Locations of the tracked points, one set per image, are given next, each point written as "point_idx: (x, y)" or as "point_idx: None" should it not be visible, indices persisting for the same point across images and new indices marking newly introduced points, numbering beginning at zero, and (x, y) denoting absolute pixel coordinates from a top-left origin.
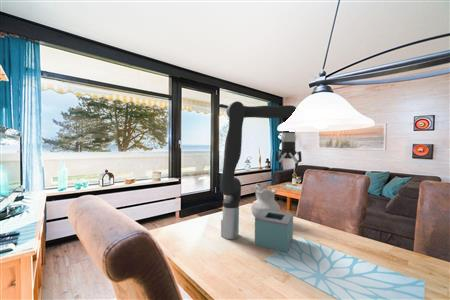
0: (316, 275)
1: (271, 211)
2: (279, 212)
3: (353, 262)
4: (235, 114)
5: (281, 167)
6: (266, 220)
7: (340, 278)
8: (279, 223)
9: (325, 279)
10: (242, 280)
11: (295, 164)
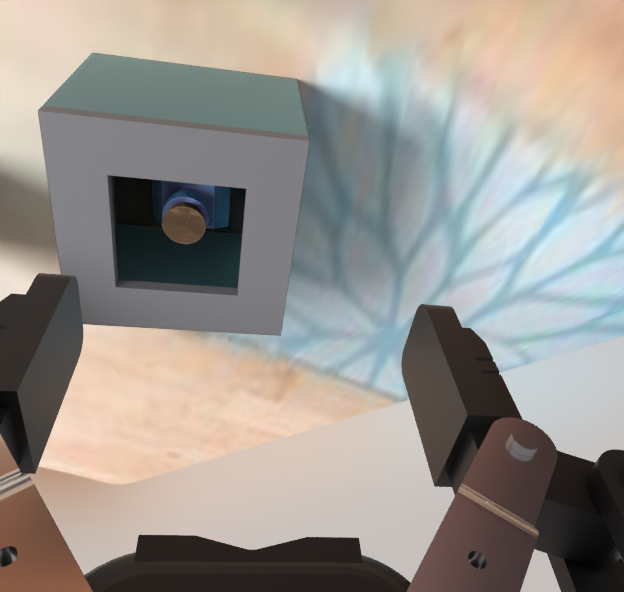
0: (380, 343)
1: (122, 145)
2: (194, 146)
3: (551, 220)
4: None
5: (70, 318)
6: (149, 327)
7: None
8: (233, 329)
9: None
10: (164, 430)
11: (435, 458)
